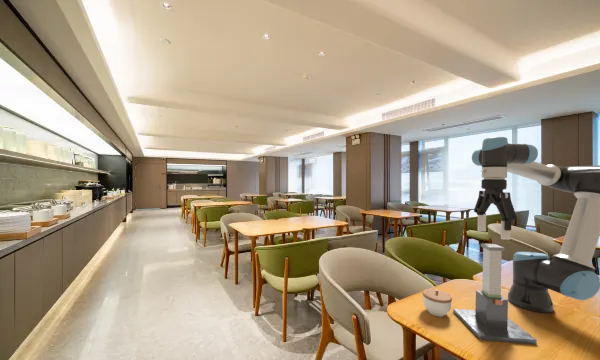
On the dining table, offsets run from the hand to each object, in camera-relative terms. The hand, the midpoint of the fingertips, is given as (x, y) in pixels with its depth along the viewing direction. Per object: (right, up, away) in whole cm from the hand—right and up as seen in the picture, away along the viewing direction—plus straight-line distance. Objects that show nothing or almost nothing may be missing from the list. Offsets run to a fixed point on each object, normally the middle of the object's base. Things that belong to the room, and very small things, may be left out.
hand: (492, 235), depth 94 cm
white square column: (-1, -25, 0) cm, 25 cm away
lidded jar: (-16, -35, +10) cm, 39 cm away
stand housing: (-1, -35, 0) cm, 35 cm away
